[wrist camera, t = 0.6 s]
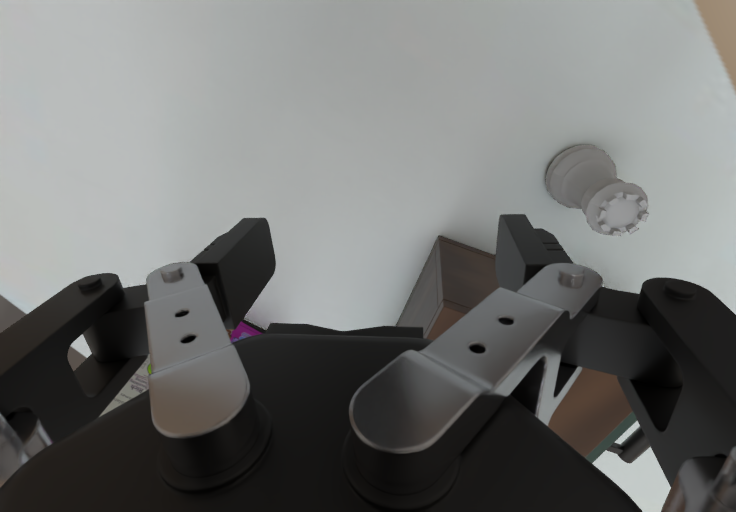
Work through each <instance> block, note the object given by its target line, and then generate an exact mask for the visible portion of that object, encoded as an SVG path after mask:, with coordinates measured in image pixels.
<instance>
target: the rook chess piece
mask: <svg viewBox="0 0 736 512" xmlns="http://www.w3.org/2000/svg"><path fill="white" fill-rule="evenodd" d="M545 180H546V186H547V191H548V192H549V193H550V195H551V196H552V197H553V199H555V200H557V202H558V203H560V204H562V205H564V206H566V207H568V208H577V209H582V211H583V213H584V214H585V215H586V218H587V223H588V224H589V225H590V227H591V228H592V229H593V230H594V231H596V232H598V233H600V234H606V235H612V236H621V233H624V232H626V231H628V232H629V233H630V234H631V233H633V232H635V231H636V230H638V229H639V228H637V227H636V225H637V224H638V223H639V222H640V221H644V222H646V220H647V217H648V215H649V213H647V212H646V210H647V208H648V200H647V195H646V194H645V192H644V191H643V189H642V188H641V187H639V186H637V185H635V184H633V183H626V182H624V181H622V180H620V179H617V175H616V166H615V164H614V162H613V161H612V159H611V158H610V156H609V155H607V154H606V153H605V151H603V150H601V149H599V148H597V147H595V146H590V145H579V146H576V147H572V148H569V149H567V150H565V151H564V152H563V153H561V154H560V155H558V156H557V157H556V158H555V159H554V161H553V162H552V164H551V165H550V166H549V168H548V172H547V175H546V179H545Z"/></svg>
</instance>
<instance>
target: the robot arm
mask: <svg viewBox="0 0 736 512" xmlns="http://www.w3.org/2000/svg"><path fill="white" fill-rule="evenodd" d="M275 265H276V261H275V254H274V249H273V244H272V239H271V233H270V228H269V224H268V221H267V220H266V219H265V218H243V219H242V220H241V221H240V222H239V223H238V224H237V225H235V226H234V227H233V228H232V229H231V230H230V231H229V232H227V233H225V234H223V235H221V236H219V237H218V238H216V239H215V240H214V241H213V242H212V243H211V244H210V245H209V246H207V247H206V248H205V249H204V251H202V252H201V253H199V254H198V255H197V256H196V257H195V258H194V259H193V260H192V261H190V262H180V263H173V264H169V265H166V266H163V267H161V268H158V269H156V270H155V271H153V272H152V273H150V274H149V275H148V276H147V278H146V283H147V284H146V285H140V286H133V287H127V288H123V287H122V284H121V282H120V279H119V277H118V275H116V274H112V273H103V274H97V275H91V276H87V277H84V278H82V279H80V280H78V281H76V282H74V283H72V284H70V285H69V286H67V287H66V288H64V289H63V290H61V291H60V292H59V293H57V294H56V295H54V296H53V297H51V298H50V299H49V300H47V301H46V302H44V303H43V304H41V305H40V306H39V307H37V308H36V309H34V310H33V311H31V312H30V313H29V314H27V315H26V316H24V317H23V318H21V319H20V320H19V321H17V322H16V323H14V324H13V325H11V326H10V327H9V328H7V329H6V330H4V331H3V332H2V333H0V512H642V510H641V509H640V508H639V507H638V506H637V505H636V503H635V502H634V501H633V500H632V499H631V498H630V497H629V496H628V495H627V494H626V493H625V492H624V491H623V490H622V489H621V488H620V487H619V486H618V485H617V484H615V483H614V482H613V481H612V480H611V479H610V478H608V477H607V476H606V475H605V474H604V473H602V472H601V471H600V470H599V469H598V468H597V467H595V466H594V465H593V464H592V463H591V462H589V461H588V460H587V459H586V458H585V457H584V456H582V455H581V454H580V453H579V452H578V451H576V450H575V449H574V448H573V447H572V446H570V445H569V444H568V443H567V442H566V441H565V440H563V439H562V438H561V437H560V436H559V435H557V434H556V433H555V432H554V431H553V430H552V429H550V428H549V427H548V424H549V421H550V419H551V416H552V414H553V413H554V411H555V409H556V408H557V407H558V405H559V404H560V402H561V401H562V399H563V398H564V396H565V395H566V393H567V392H568V390H569V389H570V387H571V386H572V384H573V383H574V382H575V380H576V379H577V377H578V376H579V374H580V373H581V371H582V368H587V369H592V370H596V371H600V372H604V373H608V374H612V375H616V376H617V380H618V382H619V384H620V386H621V388H622V390H623V392H624V394H625V396H626V398H627V400H628V402H629V404H630V406H631V408H632V410H633V412H634V414H635V416H636V418H637V420H638V422H639V424H640V426H641V428H642V430H643V432H644V434H645V436H646V438H647V440H648V442H649V444H650V446H651V448H652V450H653V452H654V454H655V456H656V458H657V460H658V462H659V464H660V466H661V468H662V470H663V472H664V474H665V476H666V478H667V480H668V482H669V484H670V486H671V489H670V492H669V494H668V496H667V498H666V501H665V503H664V505H663V507H662V510H661V512H736V315H735V314H734V313H733V312H732V311H731V310H730V309H729V308H728V307H727V306H726V305H725V304H724V303H722V302H721V301H720V300H719V299H718V298H717V297H716V296H715V295H714V294H713V293H711V292H710V291H709V290H707V289H705V288H703V287H701V286H699V285H696V284H694V283H691V282H688V281H684V280H679V279H673V278H653V279H649V280H646V281H645V282H644V283H643V285H642V288H641V292H640V294H636V293H630V292H624V291H618V290H612V289H608V288H605V287H602V277H601V276H600V275H599V274H598V273H597V272H595V271H594V270H592V269H590V268H587V267H584V266H581V265H577V264H573V262H572V261H571V259H570V258H569V256H568V255H567V254H566V252H565V251H563V248H562V247H561V245H560V244H559V242H558V241H557V239H556V238H555V237H554V235H552V234H551V233H549V232H547V231H545V230H544V229H534V228H533V227H532V225H531V223H530V222H529V220H528V218H527V217H526V215H525V214H510V215H500V218H499V225H498V236H497V248H496V259H495V269H496V276H497V280H498V283H499V286H500V288H498V289H496V290H495V291H494V292H492V293H491V294H490V295H489V296H488V297H486V298H485V299H484V300H483V301H482V302H480V303H479V304H478V305H477V306H476V307H474V308H473V309H472V310H471V311H469V312H468V313H467V314H466V315H465V316H463V317H462V318H461V319H460V320H459V321H457V322H456V323H455V324H454V325H452V326H451V327H450V328H449V329H448V330H446V331H445V332H444V333H443V334H442V335H440V336H439V337H438V338H437V339H435V340H430V339H426V338H423V327H402V326H381V327H374V328H366V329H359V330H351V331H337V330H333V329H328V328H323V327H318V326H313V325H309V324H283V323H271V324H270V325H269V327H268V329H267V331H266V332H265V333H264V334H258V335H254V336H250V337H247V338H243V339H241V340H238V341H235V342H233V343H231V341H230V338H229V336H228V333H227V331H226V329H227V330H236V328H237V327H238V325H239V324H240V322H241V321H242V319H243V318H244V316H245V315H246V314H247V312H248V311H249V309H250V308H251V306H252V305H253V303H254V302H255V300H256V299H257V298H258V296H259V295H260V293H261V292H262V290H263V289H264V287H265V286H266V284H267V283H268V282H269V280H270V279H271V277H272V276H273V274H274V271H275ZM81 334H83V336H84V338H85V340H86V342H87V344H88V346H89V348H90V350H91V352H92V354H91V355H90V356H89V357H88V358H87V359H86V360H85V361H84V362H83V363H82V364H81V365H80V366H79V367H78V368H77V369H76V370H75V371H74V372H73V370H72V368H71V366H70V365H69V362H68V359H67V353H68V349H69V347H70V345H71V344H72V343H73V342H74V341H75V340H76V339H77V338H78V337H79V336H80V335H81ZM148 354H150V364H151V374H149V375H148V384H149V389H148V390H146V391H144V392H143V393H141V394H139V395H137V396H136V397H134V398H132V399H130V400H128V401H127V402H125V403H123V404H121V405H120V406H118V407H116V408H114V409H112V410H111V411H109V412H107V413H105V414H103V415H102V416H100V415H101V414H102V412H103V411H104V410H105V409H106V408H107V406H108V405H109V404H110V403H111V402H112V400H113V399H114V398H115V397H116V396H117V394H118V393H119V392H120V391H121V390H122V388H123V387H124V386H125V385H126V383H127V382H128V381H129V380H130V379H131V377H132V376H133V375H134V374H135V373H136V371H137V370H138V369H139V368H140V367H141V365H142V364H143V363H144V362H145V360H146V359H147V357H148ZM99 416H100V417H99Z"/></svg>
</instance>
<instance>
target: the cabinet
mask: <svg viewBox="0 0 736 512" xmlns="http://www.w3.org/2000/svg"><path fill="white" fill-rule="evenodd" d="M495 259H496V256H495V255H492V254H489V253H486V252H483V251H481V250H478V249H475V248H472V247H470V246H467V245H464V244H461V243H458V242H456V241H453V240H450V239H447V238H444V237H442V236H438V238H437V240H436V242H435V244H434V247H433V249H432V251H431V253H430V255H429V257H428V259H427V261H426V263H425V266H424V268H423V270H422V272H421V274H420V276H419V278H418V280H417V282H416V285H415V287H414V289H413V291H412V293H411V295H410V297H409V299H408V301H407V304H406V306H405V308H404V310H403V312H402V314H401V316H400V318H399V321H398V323H397V325H396V326H402V327H423V338H426V339H430V340H435V339H437V338H438V337H439V336H440V335H442V334H443V333H444V332H445V331H446V330H448V329H449V328H450V327H451V326H452V325H454V324H455V323H456V322H457V321H459V320H460V319H461V318H462V317H463V316H465V315H466V314H467V313H468V312H469V311H471V310H472V309H473V308H474V307H476V306H477V305H478V304H479V303H480V302H482V301H483V300H484V299H485V298H486V297H488V296H489V295H490V294H491V293H492V292H494V291H495V290H496V289H498V288H500V286H499V283H498V280H497V276H496V269H495ZM632 412H633V410H632V408H631V406H630V404H629V402H628V400H627V398H626V396H625V394H624V392H623V390H622V388H621V386H620V384H619V382H618V380H617V376H616V375H612V374H608V373H604V372H600V371H596V370H592V369H587V368H582V371H581V373H580V374H579V376H578V377H577V379H576V380H575V382H574V383H573V384H572V386H571V387H570V389H569V390H568V392H567V393H566V395H565V396H564V398H563V399H562V401H561V402H560V404H559V405H558V407H557V408H556V409H555V411H554V413H553V414H552V416H551V419H550V421H549V424H548V427H549V428H550V429H552V430H553V431H554V432H555V433H556V434H557V435H559V436H560V437H561V438H562V439H563V440H565V441H566V442H567V443H568V444H569V445H570V446H572V447H573V448H574V449H575V450H576V451H578V452H579V453H580V454H581V455H582V456H584V457H586V456H588V455H589V454H590V453H591V452H592V451H593V450H594V449H595V448H596V447H597V446H598V445H599V444H600V443H601V442H602V441H603V440H604V439H605V438H606V437H607V436H608V435H609V434H610V433H611V432H612V431H613V430H614V429H615V428H616V427H617V426H618V425H619V424H620V423H621V422H622V421H623V420H624V419H625V418H626V417H627V416H629V415H630V414H631V413H632Z"/></svg>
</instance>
